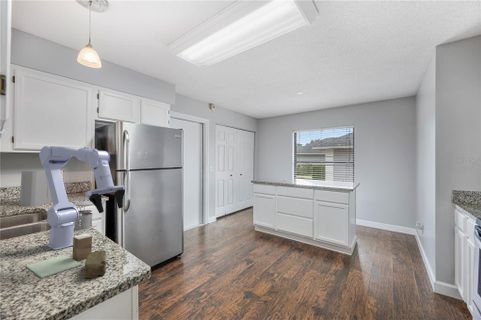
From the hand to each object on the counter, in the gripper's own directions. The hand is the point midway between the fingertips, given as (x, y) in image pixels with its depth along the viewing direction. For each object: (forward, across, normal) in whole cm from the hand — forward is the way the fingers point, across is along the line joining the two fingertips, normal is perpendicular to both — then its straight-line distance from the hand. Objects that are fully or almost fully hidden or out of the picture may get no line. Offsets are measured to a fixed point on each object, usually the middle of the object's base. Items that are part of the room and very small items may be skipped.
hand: (111, 210), depth 87 cm
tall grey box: (-33, +18, +146) cm, 151 cm away
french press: (+2, +9, +50) cm, 51 cm away
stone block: (+19, -11, -2) cm, 22 cm away
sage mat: (+13, -17, +11) cm, 25 cm away
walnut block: (+14, -9, +11) cm, 20 cm away
